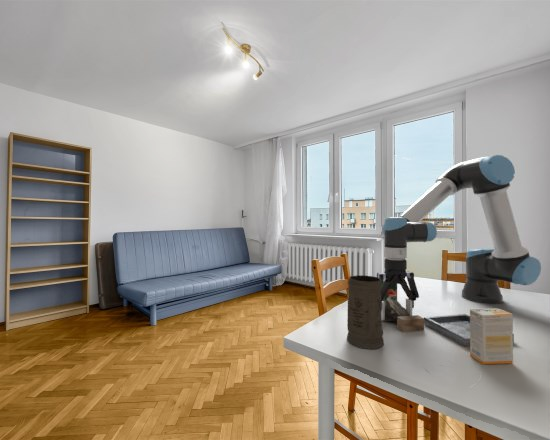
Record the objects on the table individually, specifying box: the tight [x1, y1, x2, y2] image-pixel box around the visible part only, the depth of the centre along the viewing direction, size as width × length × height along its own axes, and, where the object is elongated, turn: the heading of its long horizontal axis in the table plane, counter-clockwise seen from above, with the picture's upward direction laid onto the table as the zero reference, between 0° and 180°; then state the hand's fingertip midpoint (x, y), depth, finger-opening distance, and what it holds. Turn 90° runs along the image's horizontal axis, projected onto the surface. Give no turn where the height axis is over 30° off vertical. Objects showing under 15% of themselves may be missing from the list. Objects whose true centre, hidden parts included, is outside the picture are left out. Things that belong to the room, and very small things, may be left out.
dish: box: [423, 313, 515, 348], centre depth 88 cm, size 17×17×2 cm
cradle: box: [383, 300, 425, 333], centre depth 99 cm, size 8×20×4 cm, turn 10°
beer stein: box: [346, 274, 385, 350], centre depth 84 cm, size 15×11×20 cm
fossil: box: [383, 296, 409, 323], centre depth 99 cm, size 11×9×10 cm
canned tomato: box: [382, 277, 398, 301], centre depth 116 cm, size 8×8×11 cm
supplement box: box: [469, 308, 514, 365], centre depth 72 cm, size 8×5×13 cm, turn 92°
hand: (395, 317), depth 99 cm, fingers closed on fossil, 11 cm apart
